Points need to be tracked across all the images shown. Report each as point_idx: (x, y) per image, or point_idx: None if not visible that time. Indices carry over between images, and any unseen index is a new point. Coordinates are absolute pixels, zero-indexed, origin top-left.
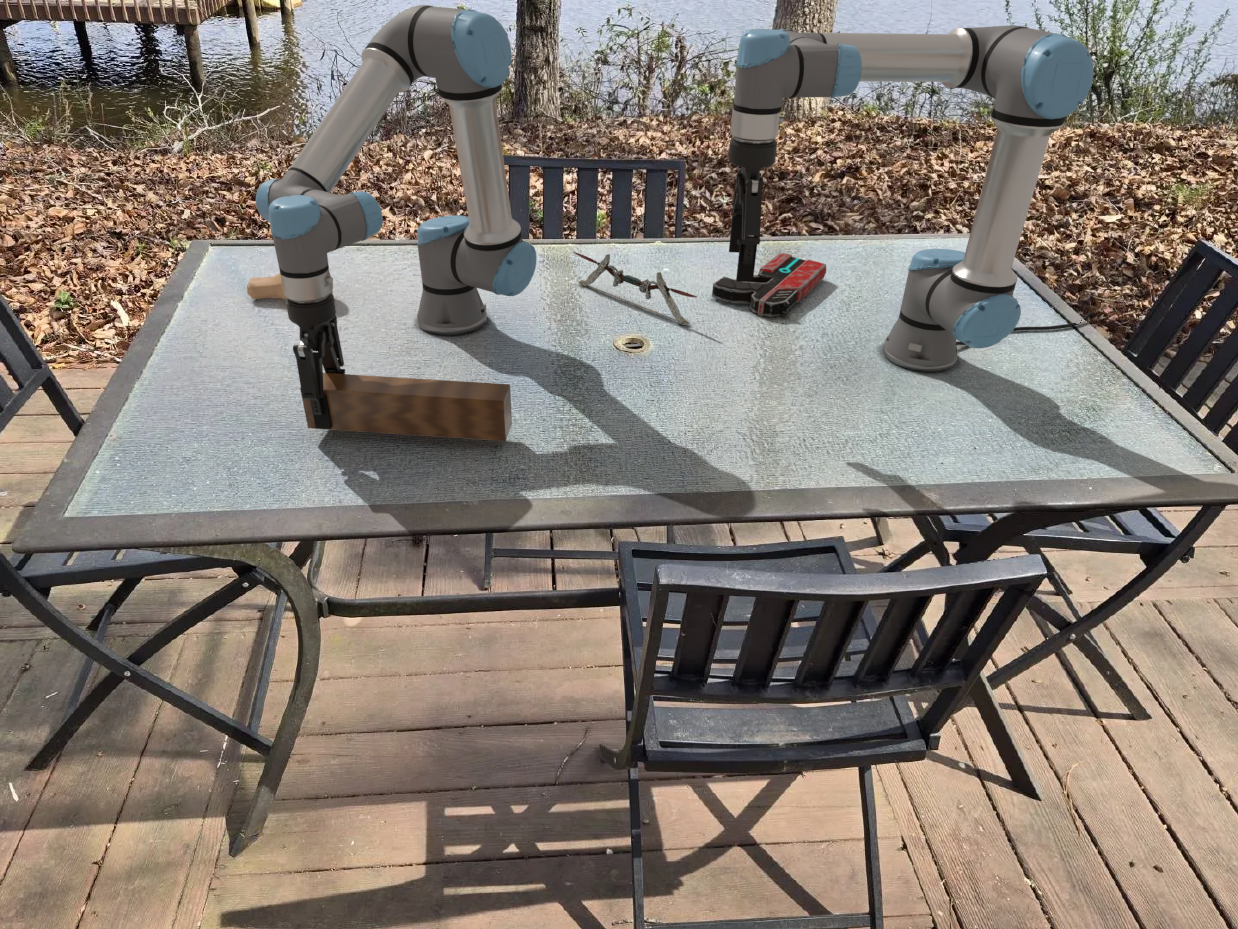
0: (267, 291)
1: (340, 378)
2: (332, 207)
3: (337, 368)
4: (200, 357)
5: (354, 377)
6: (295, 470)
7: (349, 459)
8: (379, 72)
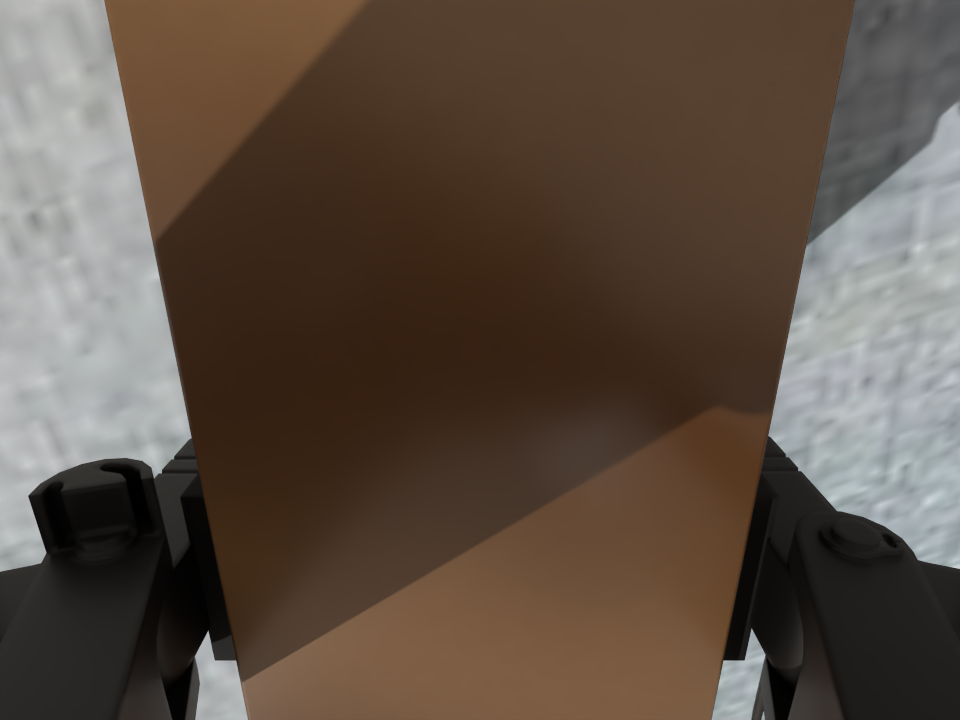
0: None
1: (358, 459)
2: None
3: (133, 602)
4: None
5: (268, 240)
6: (905, 403)
7: None
8: None
